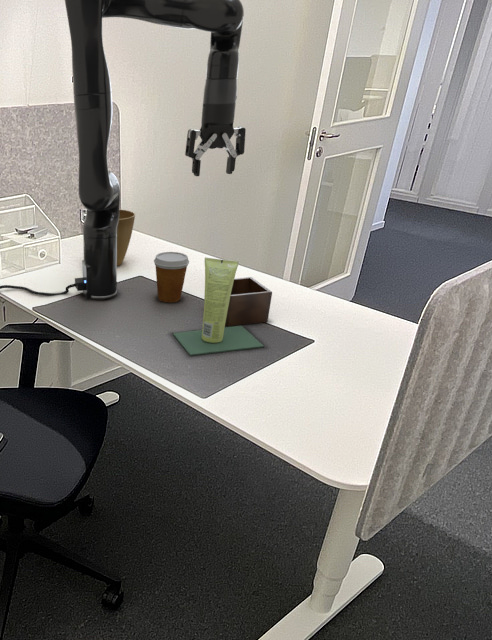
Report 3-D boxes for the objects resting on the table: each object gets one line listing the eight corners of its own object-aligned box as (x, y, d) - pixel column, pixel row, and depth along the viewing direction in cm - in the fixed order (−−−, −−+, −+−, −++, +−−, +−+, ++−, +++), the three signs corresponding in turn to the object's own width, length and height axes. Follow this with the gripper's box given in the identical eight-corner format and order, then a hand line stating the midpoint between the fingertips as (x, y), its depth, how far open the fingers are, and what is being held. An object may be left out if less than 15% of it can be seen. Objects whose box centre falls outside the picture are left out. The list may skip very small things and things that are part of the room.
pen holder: (225, 326, 143) (228, 296, 139) (207, 309, 153) (210, 280, 149) (267, 321, 145) (272, 292, 141) (247, 305, 155) (251, 276, 150)
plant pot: (135, 270, 182) (136, 219, 173) (88, 270, 182) (87, 219, 174) (132, 256, 194) (133, 207, 186) (89, 256, 195) (88, 208, 186)
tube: (217, 333, 139) (226, 254, 129) (229, 341, 135) (239, 260, 125) (197, 337, 137) (204, 257, 127) (208, 345, 133) (216, 263, 123)
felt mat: (190, 356, 130) (190, 354, 129) (172, 334, 140) (172, 333, 139) (263, 347, 133) (263, 345, 132) (241, 326, 143) (241, 325, 142)
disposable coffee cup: (185, 305, 155) (188, 262, 149) (150, 303, 157) (152, 261, 151) (187, 293, 163) (190, 252, 157) (153, 291, 165) (155, 250, 159)
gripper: (240, 98, 137) (233, 170, 145) (184, 101, 134) (180, 173, 143) (255, 100, 130) (246, 175, 139) (196, 103, 128) (190, 179, 137)
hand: (212, 174), depth 141 cm, fingers open, 8 cm apart
